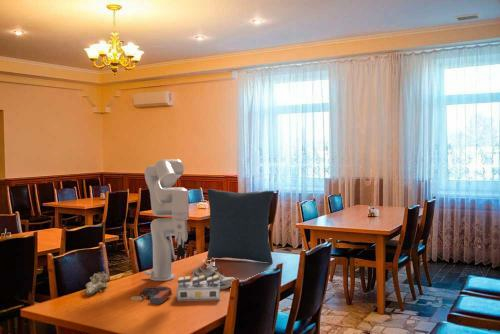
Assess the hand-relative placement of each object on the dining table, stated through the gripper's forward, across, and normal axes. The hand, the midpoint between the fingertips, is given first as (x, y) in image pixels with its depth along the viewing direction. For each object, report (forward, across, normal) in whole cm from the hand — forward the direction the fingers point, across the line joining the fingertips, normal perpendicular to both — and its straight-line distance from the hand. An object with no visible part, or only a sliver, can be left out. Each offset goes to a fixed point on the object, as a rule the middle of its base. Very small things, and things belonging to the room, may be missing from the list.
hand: (180, 256), depth 221 cm
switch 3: (+11, 0, -14) cm, 18 cm away
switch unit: (+19, 0, -8) cm, 21 cm away
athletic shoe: (+19, +17, -14) cm, 30 cm away
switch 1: (+11, 0, -2) cm, 11 cm away
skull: (+19, +13, +42) cm, 48 cm away
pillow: (+19, +70, -28) cm, 78 cm away
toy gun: (+20, +1, +13) cm, 24 cm away
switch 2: (+11, 0, -8) cm, 14 cm away
